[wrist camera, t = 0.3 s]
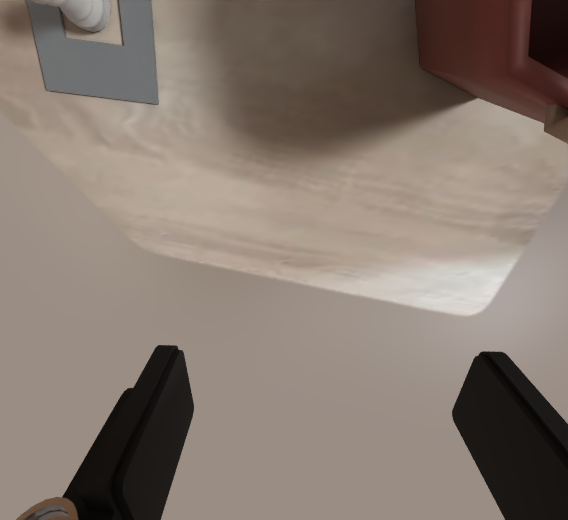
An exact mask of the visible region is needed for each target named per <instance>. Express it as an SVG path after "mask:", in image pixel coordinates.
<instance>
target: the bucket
mask: <svg viewBox="0 0 568 520" xmlns="http://www.w3.org/2000/svg"><path fill="white" fill-rule="evenodd" d="M415 9H416V22H417V36H418V49H419V63H420V68H421V69H423V70H425V71H427V72H429V73H431V74H433V75H435V76H437V77H439V78H441V79H443V80H444V81H446V82H448V83H450V84H452V85H454V86H456V87H458V88H460V89H462V90H464V91H466V92H468V93H470V94H472V95H473V96H475V97H477V98H480V99H482V100H485V101H487V102H490V103H493V104H495V105H498V106H501V107H503V108H506V109H508V110H511V111H514V112H516V113H519V114H521V115H524V116H527V117H529V118H532V119H535V120H537V121H540V122H542V123H545V124H544V132H546V133H548V134H550V135H552V136H554V137H556V138H558V139H560V140H562V141H564V142H565V143H567V144H568V0H415Z"/></svg>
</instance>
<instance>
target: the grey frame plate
mask: <svg viewBox="0 0 568 520" xmlns="http://www.w3.org/2000/svg"><path fill="white" fill-rule="evenodd" d="M26 1H27V5H28V9H29V14H30V18H31V23H32V27H33V32H34V36H35V41H36V45H37V49H38V54H39V58H40V63H41V67H42V72H43V76H44V81H45V85H46V89H47V90H49V91H57V92H65V93H73V94H81V95H89V96H96V97H104V98H112V99H120V100H128V101H136V102H144V103H152V104H159V100H158V87H157V73H156V60H155V46H154V32H153V19H152V5H151V0H119V5H120V14H121V23H122V32H123V41H124V46H122V45H115V44H107V43H100V42H92V41H85V40H77V39H70V38H66V35H65V29H64V24H63V18H62V13H61V8H60V7H58V6H57V7H55V6H50V5H48V4H45V5H42V4H38V3H35V2H33V1H32V0H26Z"/></svg>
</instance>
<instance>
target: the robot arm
mask: <svg viewBox="0 0 568 520" xmlns="http://www.w3.org/2000/svg"><path fill="white" fill-rule="evenodd" d="M193 412H194V404H193V398H192V393H191V388H190V383H189V378H188V373H187V367H186V362H185V358H184V353H183V351H182V350H178V347H177V346H170V345H168V346H167V345H166V346H165V345H158V346H157V347H156V348H155V350H154V352H153V353H152V355H151V357H150V359H149V361H148V362H147V364H146V366H145V368H144V370H143V371H142V374H141V375H140V377H139V379H138V381H137V383H136V384H135V386H134V388H128V389H127V390H126V391H124V393H123V394H122V395H121V397H120V399H119V400H118V402H117V404H116V405H115V407H114V409H113V411H112V412H111V414H110V416H109V417H108V419H107V421H106V423H105V425H104V426H103V428H102V430H101V431H100V433H99V435H98V436H97V438H96V440H95V442H94V443H93V445H92V447H91V448H90V450H89V452H88V454H87V456H86V457H85V459H84V461H83V462H82V464H81V466H80V468H79V469H78V471H77V473H76V475H75V476H74V478H73V480H72V481H71V483H70V485H69V487H68V488H67V490H66V492H65V493H64V495H63V497H62V498H61V497H55V498H51V499H46V500H44V501H42V502H40V503H38V504H36V505H34V506H32V507H31V508H30V509H28V510H27V511H26V512H24V513H23V514H21V515H20V516H19V517H18V518H17V519H16V520H161V517H162V513H163V510H164V507H165V504H166V500H167V497H168V494H169V491H170V487H171V484H172V481H173V478H174V475H175V471H176V468H177V465H178V462H179V459H180V455H181V452H182V449H183V446H184V443H185V439H186V436H187V433H188V430H189V426H190V423H191V420H192V417H193ZM452 416H453V420H454V423H455V425H456V427H457V429H458V430H459V432H460V434H461V436H462V438H463V440H464V442H465V444H466V446H467V447H468V450H469V451H470V453H471V455H472V457H473V459H474V461H475V463H476V465H477V467H478V468H479V470H480V472H481V474H482V476H483V478H484V480H485V482H486V484H487V486H488V488H489V489H490V492H491V493H492V495H493V497H494V499H495V500H496V503H497V505H498V507H499V508H500V511H501V513H502V514H503V516H504V518H505V520H568V424H567V423H566V422H565V420H564V419H563V418H562V417H561V416H560V415H559V414H558V412H557V411H556V410H555V409H554V408H553V407H552V406H551V405H550V403H549V402H548V401H547V400H546V399H545V398H544V397H543V396H542V394H541V393H540V392H539V391H538V390H537V389H536V387H535V386H534V385H533V384H532V383H531V382H530V381H529V380H528V378H527V377H526V376H525V375H524V374H523V373H522V372H521V370H520V369H519V368H518V367H517V366H516V365H515V364H514V362H513V361H512V360H511V359H510V358H509V357H508V356H507V355H506V354H505V353H503V352H481V353H480V354H479V355H478V356H476V357H475V358H474V360H473V362H472V365H471V367H470V370H469V372H468V374H467V377H466V379H465V381H464V384H463V386H462V388H461V391H460V393H459V396H458V398H457V400H456V403H455V405H454V408H453V411H452Z"/></svg>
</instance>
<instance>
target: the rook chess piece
mask: <svg viewBox="0 0 568 520" xmlns="http://www.w3.org/2000/svg"><path fill="white" fill-rule="evenodd" d="M32 1H33V2H35V3H38V4H42V5H45V4H48V5H50V6H55V7H57V6H58V7H60V8H61V10H62V12H63V13H64V14H65V15H66V17H67V18H68V19H69V20H70V21H71V22H72V23H74V24H75V25H77V26H78V27H81V28H83V29H84V30H87V31H91V32H96V31H99V30H102V29H103V28H104V27H105V26H106V25H107V24H108V21H109V17H110V2H109V0H32Z"/></svg>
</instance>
